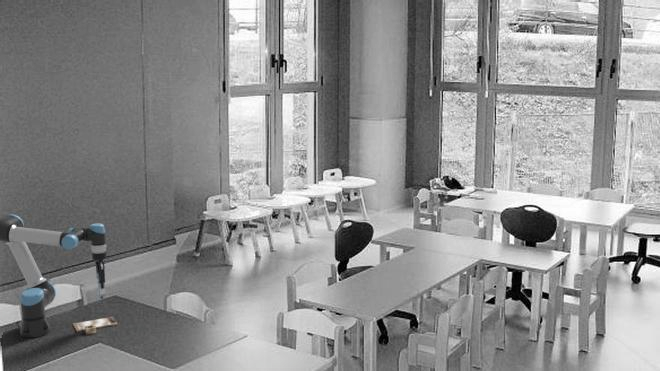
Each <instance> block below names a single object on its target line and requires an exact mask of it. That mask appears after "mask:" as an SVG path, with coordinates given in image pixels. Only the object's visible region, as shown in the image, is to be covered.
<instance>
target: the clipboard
mask: <svg viewBox="0 0 660 371" xmlns="http://www.w3.org/2000/svg"><path fill="white" fill-rule="evenodd" d="M90 325H95V327H96V330H97V329H103V328H108V327H113V326H114V327H115V326H119V323H118V321H117V320H116V319H115V318H114V316H108V317H102V318H97V319H91V320H85V321H79V322H73V323H72V326H73V327H74V330H75V331H76V332H77V333H79V332H85V326H90Z"/></svg>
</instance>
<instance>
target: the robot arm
mask: <svg viewBox="0 0 660 371" xmlns="http://www.w3.org/2000/svg"><path fill="white" fill-rule="evenodd" d="M24 226H25V223H24V220H23V219H22V218H21V217H20V216H19V215H17V214H6V215H4V216H3V217H0V242H3V243H4V244H5V245H7V246H9V249H10V251H11V253H12V255H13V257H14V259H15V261H16V264H17V265H18V267H19V270H20V271H21V274H22V275H23V277H24V280H25V281H26V283H27V284H26V287H25V288H26V289H25V290H23V292H21V293H20V306H21V309H20V310H21V316H22V323H21V327H20V329H19V330H20V331H19V334H20V336H21V337H23V338H28V339H30V338H32V339H33V338H38V337H43V336H45V335H48V334H49V333H50V332H51V327H50V324H49V321H48V320H47V317H46V310H45V309H46V307H47V306H49V305H50V304H51V303H53V301H54V300H55V298H56V294H57V290H56V287H55V286H54V285H53V284H52V283H50V282H49V281H48V279H47V278H46V277H43V276H42V273H41V271H40V269H39V267H38V264H37V263H36V261H35V259H34V256H33V254H32V252H31V251H30V249H29V246H28V244H27V243H29V244H30V243H31V244H39V245H47V246H56V247H62V248H64V249H65V250H72V249H74V248H76V247H77V246H78V245H79V244H81V243H82V242H84V243H85V242H87V243H89V242H90V245H91V246H90V247H91V252H92V253H91V255H92V257H91V258H92V260H93V261H95V262H94V263H95V269H96V270H95V272H96V273H95V274H97V272H99V281H100V282H98V277H97V276H96V279H97V284H98V283H99V288H100V295H101V294H105V295H106V272H105V271H106V270H105V269H106V268H105V267H106V266H105V262H104V261H103V260H106V259H107V247H108V245H107V244H106V231H105V229H106V228H105V225H104V224H103V223H99V222H96V223H91V224H90V226H89V227H70V228H69V229H68V231H67V232H63V231H57V230H46V229H41V228H40V229H38V228H32V227H31V228H29V227H24ZM104 282H105V284H104Z"/></svg>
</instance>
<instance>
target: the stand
mask: <svg viewBox="0 0 660 371" xmlns="http://www.w3.org/2000/svg"><path fill="white" fill-rule="evenodd" d="M84 332H85V334H86V335H92V334H93V335H94V334H97V329H96V327H95V325H90V326H85V331H84Z"/></svg>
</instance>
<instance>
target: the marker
mask: <svg viewBox="0 0 660 371" xmlns="http://www.w3.org/2000/svg"><path fill="white" fill-rule="evenodd" d="M97 277H98V280H97V294H98V295H97V296H98V297H99V298H100V299H102V300H103V299H104V297H105V296H106V293H105V294H101V295H100V288H99V283H98V282H100V281H99V272H97V273H96V278H97ZM104 284H105V285H106V281H105V282H104Z"/></svg>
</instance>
